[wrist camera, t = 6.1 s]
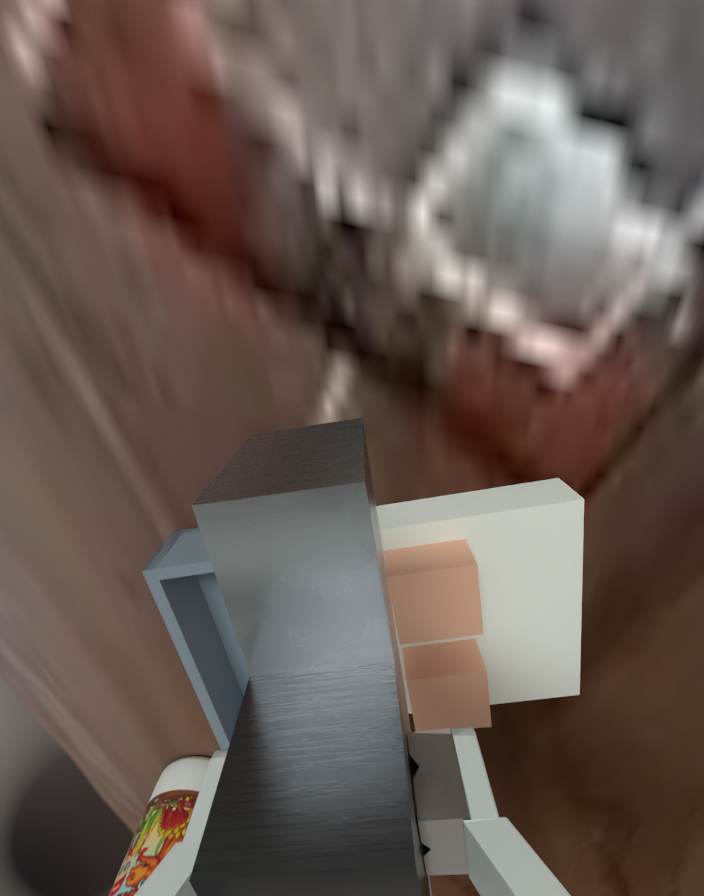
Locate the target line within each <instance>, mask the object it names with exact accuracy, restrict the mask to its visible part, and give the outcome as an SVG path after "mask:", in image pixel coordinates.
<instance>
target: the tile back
mask: <svg viewBox="0 0 704 896" xmlns="http://www.w3.org/2000/svg"><path fill="white" fill-rule="evenodd" d="M402 651H403V659H404V667H405V675H406V682H407V687H408V693H409V698H410V704H411V709H412V714H413V720H414V725H415V730H416V732H418V731H427V730H436V729H444V728H450V729H451V728H459V727H468V726H472V727H473V729H474V728H483V727H492V725H491V714H490V702H489V691H488V679H487V670H486V668H485V665H484V662H483V659H482V656H481V654H480V651H479V648H478V645H477V642H476V639H467V640H459V641H451V642H443V643H435V644H427V645H419V646H411V647H403V648H402Z"/></svg>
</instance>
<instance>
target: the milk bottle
mask: <svg viewBox="0 0 704 896" xmlns="http://www.w3.org/2000/svg"><path fill="white" fill-rule="evenodd" d="M210 759H211V758H209V757H203V756H189V757H183V758H180V759H177V760H175V761H173V762H172V763H171V764H169V765H168V766H167V767H166V769H165V770H164V771H163V772H162V774H161V776H160V778H159V780H158V782H157V784H156V787H155V789H154V791H153V793H152V796H151V798H150V800H149V803H148V805H147V807H146V810H145V812H144V814H143V817H142V819H141V822H140V824H139V826H138V829H137V831H136V833H135V836H134V838H133V840H132V843H131V845H130V847H129V850H128V852H127V855H126V857H125V859H124V861H123V864H122V866H121V869H120V871H119V873H118V876H117V878H116V881H115V883H114V885H113V888H112V890H111V892H110V895H109V896H134V895H135V894H136V892H137V891H138V890H139V889H140V887H141V886H142V885H143V884H144V882H145V881H146V880H147V879H148V877H149V876H150V875H151V873H152V872H153V871H154V870H155V868H156V867H157V866H158V865H159V863H160V862H161V861H162V860H163V858H164V857H165V856H166V854H167V853H168V852H169V851H170V849H171V848H172V847H173V846H174V844H175V843H176V842H182V841H183V839H184V836H185V833H186V830H187V827H188V824H189V821H190V818H191V815H192V812H193V809H194V806H195V803H196V800H197V797H198V794H199V791H200V788H201V785H202V782H203V779H204V776H205V773H206V770H207V767H208V764H209V761H210Z"/></svg>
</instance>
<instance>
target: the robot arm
mask: <svg viewBox="0 0 704 896" xmlns="http://www.w3.org/2000/svg"><path fill="white" fill-rule="evenodd" d="M408 741H409V750H410V758H411V765H412V771H413V776H414V779H413V785H414V793H415V801H416V810H417V818H418V825H419V831H420V838H421V843H422V847H423V856H424V861H425V867H426V872H427V875H454V874H469V878H470V879H471V881H472V883H473V884H474V886H475V887H476V889H477V891H478V892H479V894H480V896H571V895H570V894H569V893H568V892H567V890H566V889H565V888H564V887H563V885H562V884H561V883H560V882H559V881H558V879H557V878H556V877H555V876H554V874H553V873H552V872H551V871H550V870H549V868H548V867H547V866H546V865H545V863H544V862H543V861H542V860H541V859H540V857H539V856H538V855H537V854H536V852H535V851H534V850H533V849H532V848H531V846H530V845H529V844H528V843H527V841H526V840H525V839H524V838H523V837H522V835H521V834H520V833H519V832H518V830H517V829H516V828H515V827H514V826H513V824H512V823H511V822H510V821H509V819H508V818H507V817H499V815H498V811H497V808H496V804H495V801H494V797H493V793H492V790H491V786H490V783H489V779H488V775H487V772H486V768H485V765H484V761H483V758H482V754H481V750H480V747H479V743H478V740H477V736H476V733H475V731H474V729H473V727H472V726H468V727H459V728H451V729H450V728H444V729H436V730H427V731H418V732H410V733H408ZM227 751H228V749H227V750H218V751H215V752H214V754H213V756H212V757H211V759H210V761H209V764H208V767H207V770H206V773H205V776H204V779H203V782H202V785H201V788H200V791H199V794H198V797H197V800H196V803H195V806H194V809H193V812H192V815H191V818H190V821H189V824H188V827H187V830H186V833H185V836H184V839H183V841H182V842H176V843H175V844H174V846H173V847H172V848H171V849H170V851H169V852H168V853H167V854H166V856H165V857H164V858H163V860H162V861H161V862H160V863H159V865H158V866H157V867H156V868H155V870H154V871H153V872H152V873H151V875H150V876H149V877H148V879H147V880H146V881H145V882H144V884H143V885H142V886H141V887H140V889H139V890H138V891H137V892H136V894H135V895H134V896H197V895H196V893H195V891H194V889H193V887H192V885H191V884H190V882H189V880H190V877H191V873H192V870H193V866H194V863H195V860H196V856H197V853H198V850H199V846H200V843H201V839H202V836H203V833H204V829H205V826H206V822H207V819H208V816H209V812H210V809H211V805H212V802H213V799H214V795H215V792H216V789H217V785H218V782H219V778H220V775H221V772H222V768H223V765H224V761H225V758H226V755H227Z"/></svg>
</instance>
